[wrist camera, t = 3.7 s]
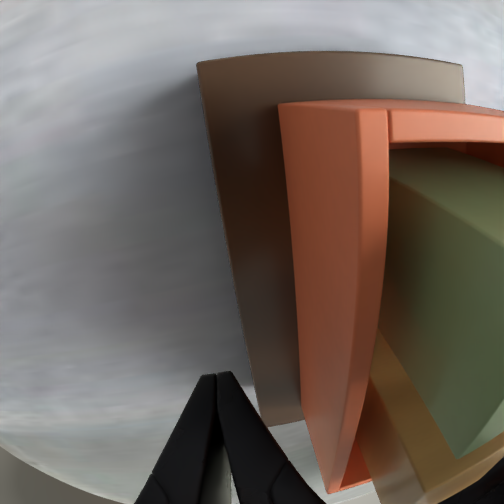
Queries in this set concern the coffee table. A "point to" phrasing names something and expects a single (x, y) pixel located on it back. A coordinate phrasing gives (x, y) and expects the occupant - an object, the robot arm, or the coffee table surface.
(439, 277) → the sage block
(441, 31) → the coffee table surface
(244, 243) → the stand
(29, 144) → the coffee table surface
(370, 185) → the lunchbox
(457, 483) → the beech block
